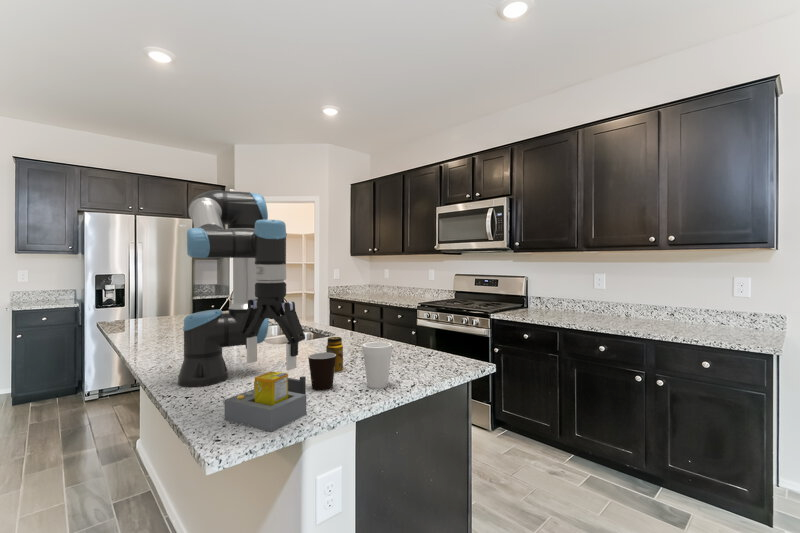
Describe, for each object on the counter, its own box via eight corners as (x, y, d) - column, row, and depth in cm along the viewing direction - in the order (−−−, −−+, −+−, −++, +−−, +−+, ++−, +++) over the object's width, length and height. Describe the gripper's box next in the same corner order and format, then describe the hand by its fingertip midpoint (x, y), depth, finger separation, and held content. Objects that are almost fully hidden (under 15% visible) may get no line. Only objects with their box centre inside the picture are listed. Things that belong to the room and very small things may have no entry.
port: (224, 419, 97) (224, 397, 97) (261, 404, 108) (261, 384, 108) (271, 431, 90) (271, 407, 90) (306, 414, 100) (306, 392, 100)
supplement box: (269, 412, 102) (269, 370, 102) (289, 415, 100) (288, 372, 100) (254, 421, 96) (253, 376, 96) (274, 424, 94) (273, 379, 94)
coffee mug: (330, 392, 118) (329, 359, 118) (303, 390, 119) (303, 358, 119) (343, 381, 129) (343, 351, 129) (319, 380, 131) (318, 350, 131)
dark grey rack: (254, 399, 112) (254, 381, 112) (280, 389, 121) (280, 372, 121) (280, 405, 107) (279, 386, 107) (305, 394, 116) (305, 376, 116)
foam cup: (356, 385, 124) (356, 345, 124) (377, 379, 131) (377, 340, 131) (377, 392, 118) (377, 349, 118) (398, 385, 124) (398, 344, 124)
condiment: (347, 370, 143) (347, 337, 143) (328, 375, 137) (328, 341, 137) (336, 366, 148) (336, 335, 148) (317, 371, 142) (316, 338, 142)
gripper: (224, 280, 100) (224, 362, 101) (298, 284, 89) (298, 376, 89) (247, 279, 107) (248, 356, 107) (319, 282, 95) (319, 368, 96)
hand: (271, 365), depth 98 cm, fingers open, 13 cm apart
